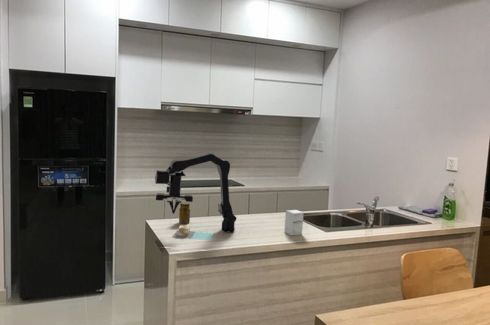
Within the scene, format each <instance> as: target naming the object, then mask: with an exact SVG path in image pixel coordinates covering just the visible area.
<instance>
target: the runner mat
mask: <svg viewBox="0 0 490 325" xmlns="http://www.w3.org/2000/svg"><path fill="white" fill-rule="evenodd" d="M214 235H215V233H214V232H204V231H203V232H202V231H192V230H190V234H189V235H188V236H178V230H176V231H175V233H174V234H173V235H172V237H171V238H173V239H174V238H175V239H177V238H178V239H191V240H202V241H211V240H212V239H213V236H214Z"/></svg>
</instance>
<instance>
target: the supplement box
mask: <svg viewBox="0 0 490 325" xmlns="http://www.w3.org/2000/svg"><path fill="white" fill-rule="evenodd" d="M284 216H285V217H284V218H285V219H284V233H285V234H287V235H289V236H291V237H292V236H298V235H303V224H304V211H301V210H298V209H292V210H291V209H290V210H289V209H287V210H285V215H284Z"/></svg>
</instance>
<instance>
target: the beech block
mask: <svg viewBox="0 0 490 325" xmlns="http://www.w3.org/2000/svg"><path fill="white" fill-rule="evenodd" d="M177 229H178V236H188V235H189V234H190V231H191V225H185V224H180V225H179V227H178V228H177Z"/></svg>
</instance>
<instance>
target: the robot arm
mask: <svg viewBox="0 0 490 325" xmlns="http://www.w3.org/2000/svg"><path fill="white" fill-rule="evenodd" d="M207 162H211V163H212V164H215V165H216V169H217V172H218V175H219V183H220V184H219V188H220V200H221V201H220V203H219V204H217V206H218V208H217V209H218V211H217V212H219V214H220V215H221V217H222V219H223V220H222V221H221V231H222V232H224V233H234V232H235V230H236V229H235V224H236V221H237V217H236V215H235V214H234V212H233V208H232V205H231V202H230V189H229V188H230V187H229V175H230V170H231V163H230V162H229V161H228V160H227V159H223V158H220V157H218V156H216V155H215V154H214V153H211V152H208V153H204V154H201V155H198V156H193V157H189V158H185V159H184V158H178V159H173V160H171V161H170V164H169V166H168V168H166V170H158V169H157V170H156V172H155V175H154V176H155V177H154V182H155V184H156V185H167V184H169V186H168V185H167V186H166V193H168V194H165V193H164V192H163V193H162V192H157V193H156V194H155V201H164V199H166V202H167V203H169V205H170V209H171V212H172V214H175V212H176V210H177V208H178V206H179V204H181V203H182V201H183V200H184V201H185V202H186V203H190V202H191V203H192V202H194V201H193V200H194V198H193V197H194V196H193V195H192V194H190V193H188V194H187V193H186V194H184V195H181V191H182V189H181V188H182V177H187V176H186V174H185V173H184V171H185V170H186V169H188V168H190V167H193V166H197V165H201V164H204V163H207ZM174 200H175V202H174Z"/></svg>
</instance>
